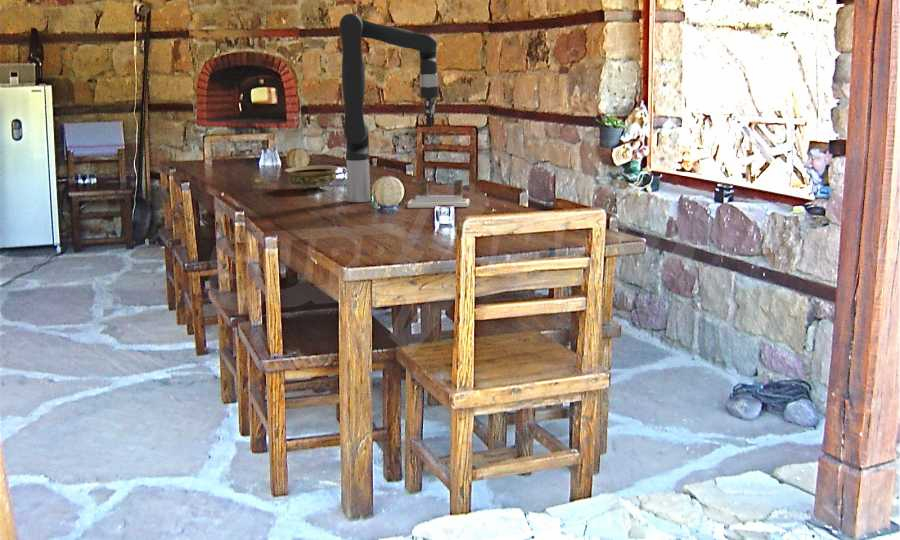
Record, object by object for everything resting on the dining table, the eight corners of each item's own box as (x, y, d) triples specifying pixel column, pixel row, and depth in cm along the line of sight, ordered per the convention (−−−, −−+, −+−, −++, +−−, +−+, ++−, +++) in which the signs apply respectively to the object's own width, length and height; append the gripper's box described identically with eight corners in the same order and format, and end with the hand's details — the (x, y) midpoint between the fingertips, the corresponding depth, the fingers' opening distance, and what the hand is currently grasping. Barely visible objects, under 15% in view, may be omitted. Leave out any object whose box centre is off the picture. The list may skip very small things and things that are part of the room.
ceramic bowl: (275, 189, 446) (274, 167, 444) (323, 184, 458) (322, 163, 456) (301, 196, 421) (300, 173, 419) (351, 191, 433) (350, 169, 431)
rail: (415, 205, 385) (415, 196, 384) (416, 204, 388) (416, 195, 387) (461, 205, 383) (460, 196, 382) (461, 203, 386) (461, 195, 385)
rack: (416, 203, 393) (415, 182, 391) (418, 201, 398) (417, 180, 397) (465, 203, 391) (464, 181, 389) (466, 200, 396) (466, 179, 395)
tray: (407, 208, 382) (407, 203, 381) (411, 204, 391) (410, 199, 391) (467, 207, 379) (467, 202, 379) (469, 203, 389) (469, 198, 388)
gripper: (422, 85, 403) (423, 124, 406) (417, 86, 389) (418, 127, 393) (440, 84, 402) (441, 124, 406) (436, 86, 388) (437, 127, 392)
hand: (430, 125), depth 399 cm, fingers open, 8 cm apart
